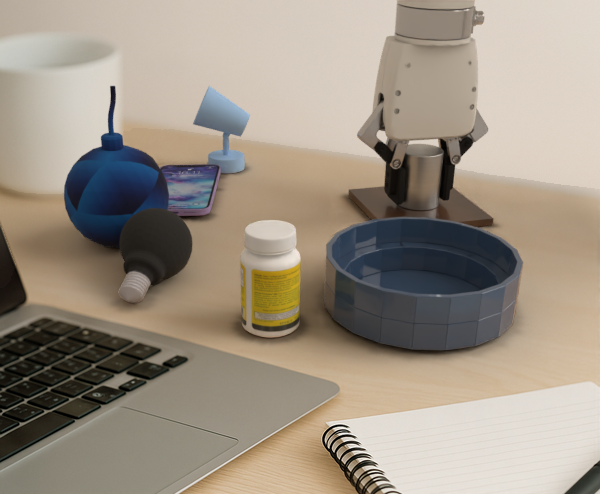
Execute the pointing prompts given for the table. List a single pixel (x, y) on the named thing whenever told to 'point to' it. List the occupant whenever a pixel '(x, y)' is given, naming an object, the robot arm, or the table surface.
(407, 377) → the table surface
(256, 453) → the table surface
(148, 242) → the light bulb
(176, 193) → the smartphone
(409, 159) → the tin
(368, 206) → the mat
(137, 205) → the bomb
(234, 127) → the spotlight
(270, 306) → the supplement bottle
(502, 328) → the bowl
